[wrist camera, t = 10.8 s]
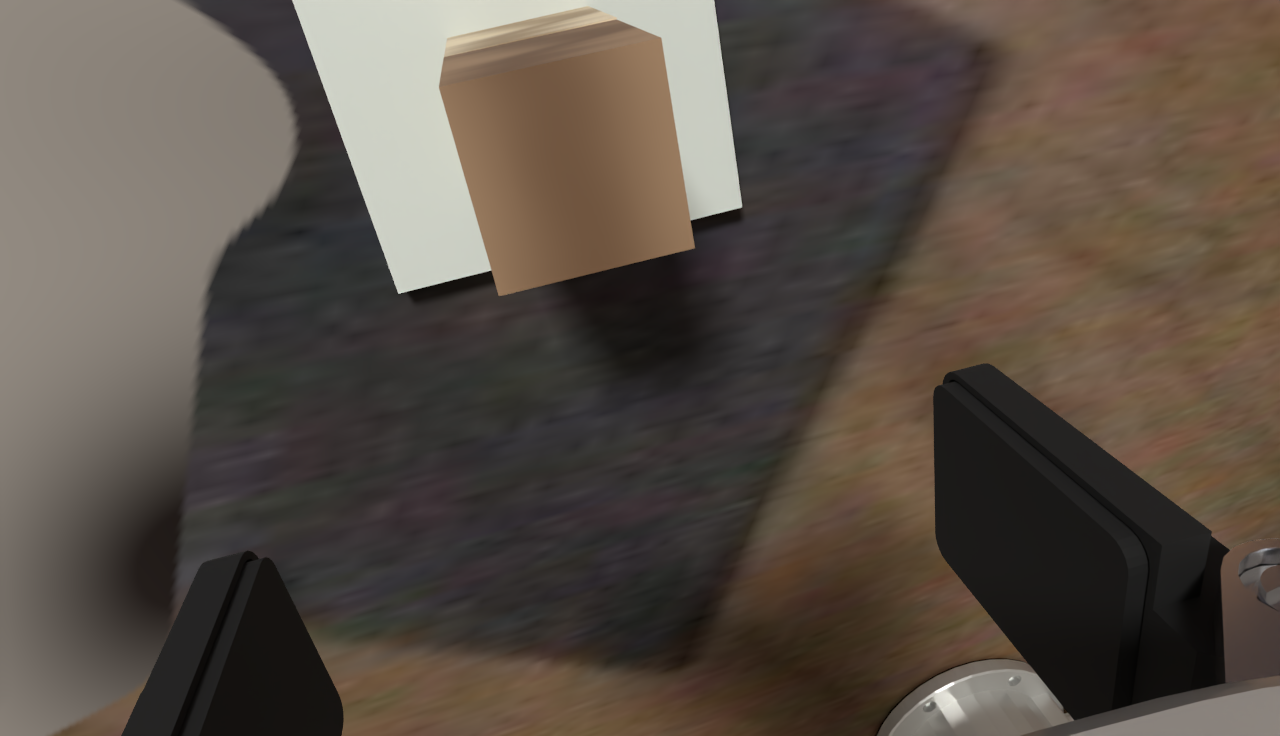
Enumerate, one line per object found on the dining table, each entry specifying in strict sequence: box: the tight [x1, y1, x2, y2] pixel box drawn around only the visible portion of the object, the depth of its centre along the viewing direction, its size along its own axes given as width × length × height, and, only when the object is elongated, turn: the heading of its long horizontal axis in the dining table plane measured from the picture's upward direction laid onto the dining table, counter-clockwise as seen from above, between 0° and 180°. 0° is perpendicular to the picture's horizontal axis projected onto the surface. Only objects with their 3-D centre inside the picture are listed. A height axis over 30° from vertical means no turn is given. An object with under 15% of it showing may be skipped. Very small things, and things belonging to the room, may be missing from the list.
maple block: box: [444, 6, 617, 57], centre depth 27 cm, size 5×5×6 cm
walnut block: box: [439, 19, 695, 296], centre depth 22 cm, size 5×5×6 cm
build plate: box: [293, 0, 742, 294], centre depth 30 cm, size 14×12×1 cm
